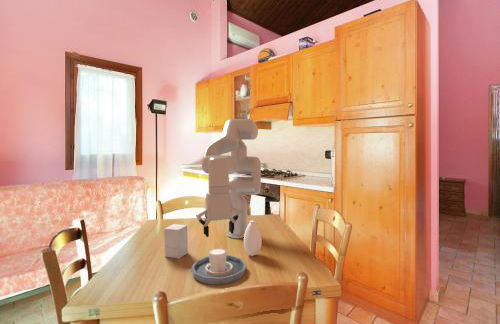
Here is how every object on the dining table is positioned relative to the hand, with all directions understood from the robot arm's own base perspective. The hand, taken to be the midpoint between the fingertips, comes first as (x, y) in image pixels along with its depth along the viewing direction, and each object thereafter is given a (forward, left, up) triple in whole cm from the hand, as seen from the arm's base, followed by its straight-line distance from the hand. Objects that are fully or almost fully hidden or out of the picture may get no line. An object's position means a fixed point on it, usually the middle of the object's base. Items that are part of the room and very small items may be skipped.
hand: (219, 234), depth 103 cm
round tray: (0, 0, -14) cm, 14 cm away
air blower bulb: (-18, -9, -15) cm, 25 cm away
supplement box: (+13, -22, -15) cm, 30 cm away
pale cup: (+1, 0, -14) cm, 14 cm away
